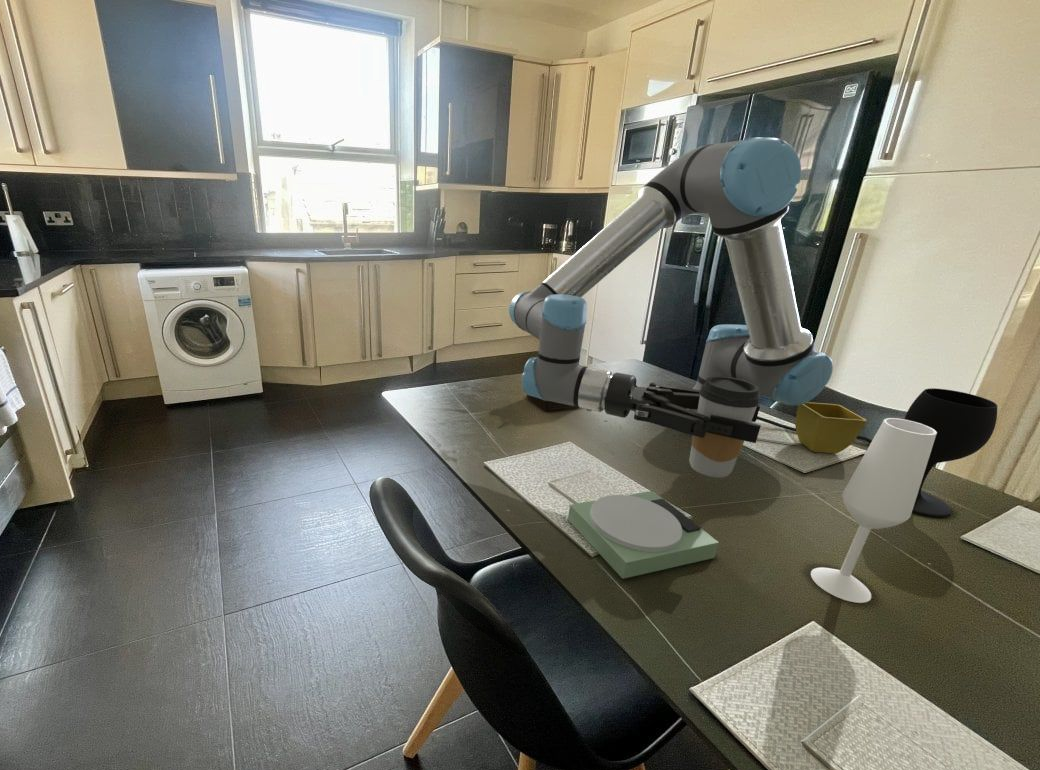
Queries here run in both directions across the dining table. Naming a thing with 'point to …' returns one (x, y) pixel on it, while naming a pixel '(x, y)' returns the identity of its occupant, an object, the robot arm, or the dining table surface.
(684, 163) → the robot arm
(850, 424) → the flower pot
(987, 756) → the dining table surface
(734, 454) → the coffee cup
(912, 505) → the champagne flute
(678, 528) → the kitchen scale
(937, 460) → the wine glass
